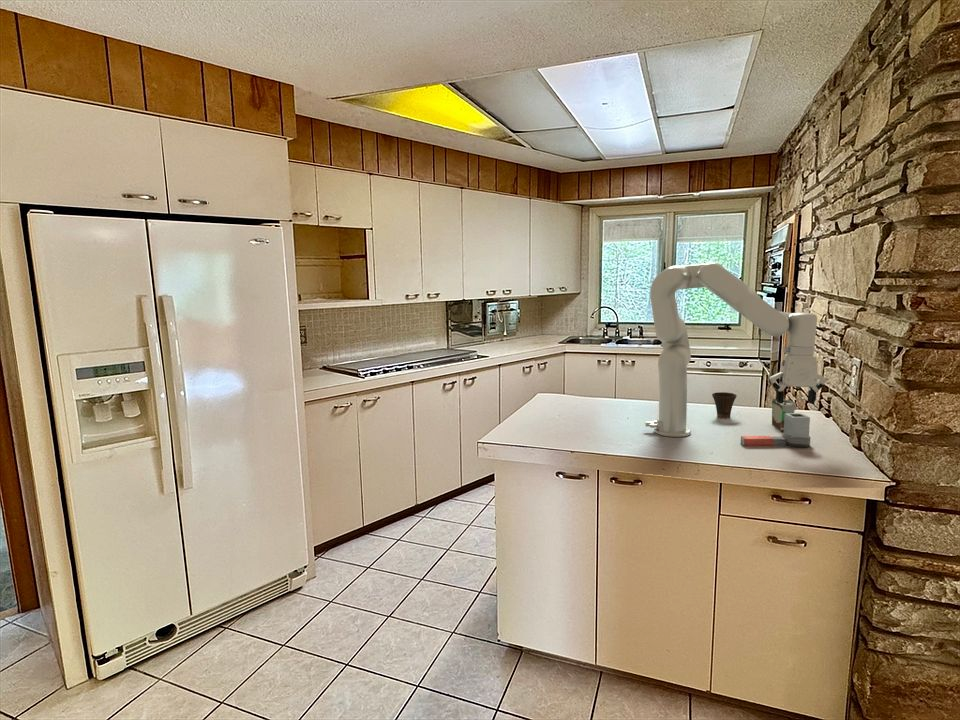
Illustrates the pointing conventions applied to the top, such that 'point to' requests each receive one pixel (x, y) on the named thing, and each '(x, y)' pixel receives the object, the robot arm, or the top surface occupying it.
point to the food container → (781, 412)
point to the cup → (724, 403)
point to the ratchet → (775, 441)
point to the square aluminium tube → (796, 425)
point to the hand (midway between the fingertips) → (795, 402)
